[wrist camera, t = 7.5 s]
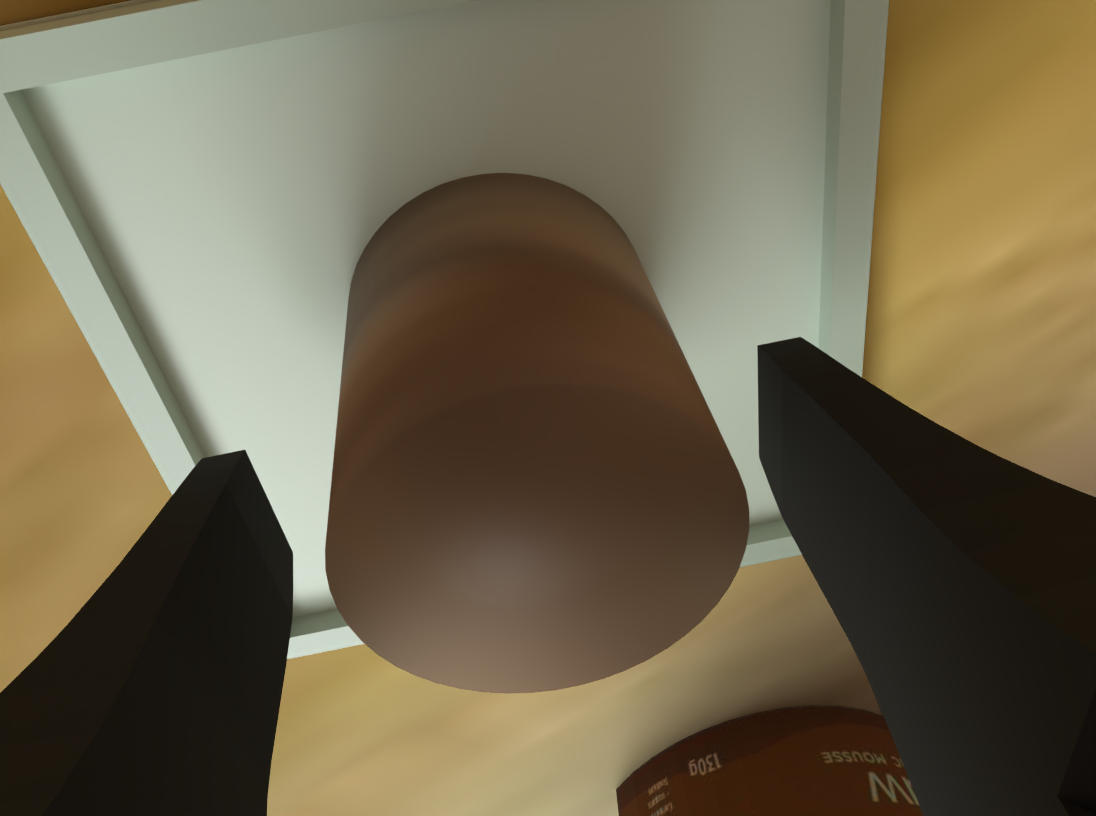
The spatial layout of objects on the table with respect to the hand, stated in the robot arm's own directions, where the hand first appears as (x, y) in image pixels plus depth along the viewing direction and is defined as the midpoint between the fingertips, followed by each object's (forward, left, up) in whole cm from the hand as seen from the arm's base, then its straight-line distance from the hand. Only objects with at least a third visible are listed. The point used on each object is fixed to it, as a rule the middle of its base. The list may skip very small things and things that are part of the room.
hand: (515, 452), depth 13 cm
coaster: (0, 0, -3) cm, 3 cm away
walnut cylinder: (0, +1, -3) cm, 3 cm away
